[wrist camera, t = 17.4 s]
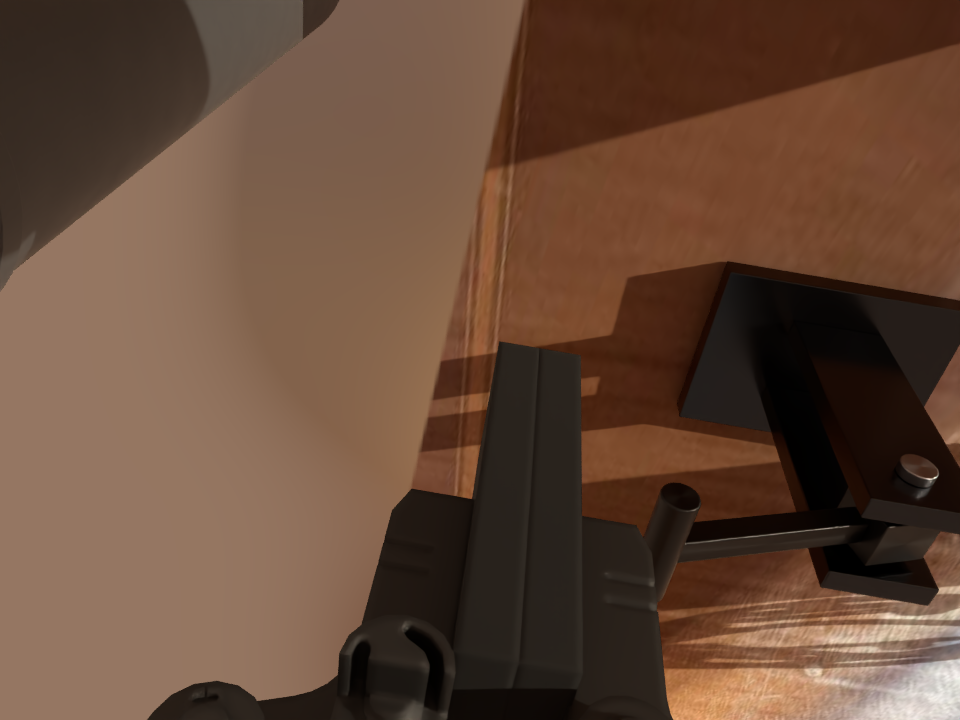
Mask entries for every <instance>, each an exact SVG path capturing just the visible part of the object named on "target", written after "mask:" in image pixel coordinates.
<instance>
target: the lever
mask: <svg viewBox="0 0 960 720" xmlns="http://www.w3.org/2000/svg"><path fill="white" fill-rule="evenodd" d="M700 506H701V500H700V497H699V495H698V494H697V492H696V491H695V490H693V489H692V488H691V487H689V486H687V485H684V484H681V483H668V484H666V485H664V486H663V487H662V488H661V490H660V493H659V496H658V499H657V501H656V504H655V507H654V510H653V512H652V515H651V518H650V520H649V523H648V526H647V529H646V531H645V534H644V537H643V538H644V540H645V542H646V543H647V545H648V547H649V549H650V550H651V552H652V558H653V568H654V578H655V583H654V587H655V588H656V597H657V602H659V601H660V600H661V599H662V598H663V596H664V594H665V591H666V589H667V587H668V584H669V582H670V579H671V577H672V574H673V572H674V569H675V567H676V565H677V563H683V562H691V561H700V560H709V559H718V558H726V557H735V556H744V555H753V554H762V553H770V552H779V551H788V550H797V549H805V548H814V547H823V546H832V545H841V544H848V545H849V546H850V548H851V549H852V550H853V551H854V553H855V554H856V555H857V556H858V558H859V559H860V560H861V562H862V563H863V564H864V565H865V566H868V565H876V564H884V563H892V562H900V561H908V560H916V559H922V558H923V557H924V555H925V553H926V552H927V550H928V549H929V547H930V546H931V544H932V543H933V541H934V540H935V538H936V537H937V535H938V534H939V532H940V531H937V530H931V529H925V528H920V527H914V526H908V525H902V524H896V523H890V522H885V521H879V520H873V519H867V518H862V517H860V514H859V512H858V509H857V507H856V504H855V502H854V500H853V497H852V495H851V492H850V490H849V487H848V489H847V491H846V493H845V495H844V496H843V498H842V500H841V502H840V504H839V505H838V507H837V508H833V509H823V510H813V511H803V512H793V513H783V514H773V515H763V516H752V517H742V518H732V519H722V520H712V521H702V522H694V521H695V518H696V516H697V513H698V511H699V508H700Z"/></svg>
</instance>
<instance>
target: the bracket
mask: <svg viewBox="0 0 960 720" xmlns="http://www.w3.org/2000/svg"><path fill="white" fill-rule="evenodd" d="M959 345H960V301H958V300H953V299H947V298H941V297H935V296H929V295H923V294H917V293H911V292H905V291H899V290H894V289H888V288H882V287H876V286H870V285H864V284H858V283H852V282H846V281H840V280H835V279H829V278H823V277H817V276H811V275H805V274H799V273H793V272H787V271H781V270H776V269H770V268H764V267H758V266H752V265H746V264H740V263H734V262H727V263H726V266H725V269H724V272H723V274H722V277H721V280H720V283H719V286H718V289H717V292H716V294H715V297H714V300H713V303H712V306H711V309H710V312H709V314H708V317H707V320H706V323H705V326H704V329H703V331H702V334H701V337H700V340H699V343H698V346H697V349H696V351H695V354H694V357H693V360H692V363H691V366H690V369H689V371H688V374H687V377H686V380H685V383H684V386H683V388H682V391H681V394H680V397H679V400H678V403H677V405H678V411H679V416H680V417H685V418H691V419H697V420H702V421H708V422H714V423H720V424H726V425H732V426H737V427H743V428H749V429H755V430H761V431H767V432H771V433H772V436H773V439H774V442H775V446H776V449H777V452H778V455H779V458H780V461H781V464H782V468H783V471H784V474H785V477H786V480H787V483H788V486H789V490H790V493H791V496H792V499H793V502H794V505H795V509H796V512H803V511H813V510H823V509H833V508H837V507H838V505H839V504H840V502H841V500H842V498H843V496H844V495H845V493H846V491H847V489H848V487H849V490H850V492H851V495H852V497H853V500H854V502H855V504H856V507H857V509H858V512H859V514H860V517H862V518H867V519H873V520H879V521H885V522H890V523H896V524H902V525H908V526H914V527H920V528H925V529H931V530H937V531H943V532H949V533H955V534H960V467H959V466H958V464H957V462H956V461H955V459H954V457H953V456H952V454H951V452H950V451H949V449H948V447H947V445H946V444H945V442H944V440H943V439H942V437H941V435H940V434H939V432H938V430H937V429H936V427H935V425H934V423H933V422H932V420H931V418H930V417H929V415H928V413H927V412H926V410H925V408H924V406H925V404H926V402H927V401H928V399H929V397H930V395H931V394H932V392H933V390H934V388H935V387H936V385H937V383H938V381H939V380H940V378H941V376H942V374H943V373H944V371H945V369H946V367H947V366H948V364H949V362H950V361H951V359H952V357H953V355H954V354H955V352H956V350H957V348H958V347H959ZM808 550H809V553H810V556H811V559H812V562H813V565H814V568H815V572H816V575H817V578H818V581H819V584H820V587H822V588H827V589H833V590H838V591H844V592H850V593H856V594H862V595H868V596H873V597H879V598H885V599H891V600H897V601H902V602H908V603H914V604H920V605H926V606H928V605H929V604H930V603H931V601H932V600H933V598H934V597H935V596H936V594H937V593H938V591H939V589H938V587H937V585H936V583H935V581H934V578H933V576H932V574H931V572H930V570H929V568H928V566H927V563H926V561H925V559H924V557H923V558H922V559H916V560H908V561H900V562H892V563H884V564H876V565H868V566H865V565H864V564H863V563H862V562H861V560H860V559H859V558H858V556H857V555H856V554H855V553H854V551H853V550H852V549H851V548H850V546H849V545H848V544H841V545H832V546H823V547H814V548H808Z"/></svg>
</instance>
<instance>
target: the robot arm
mask: <svg viewBox="0 0 960 720" xmlns="http://www.w3.org/2000/svg"><path fill="white" fill-rule="evenodd" d="M654 583H655V578H654V568H653V558H652V552H651V550H650V549H649V547H648V545H647V543H646V542H645V540H644V538H643V536H642V535H641V533H640V531H639V529H638V528H637V526H636V525H631V524H625V523H620V522H614V521H608V520H602V519H596V518H591V517H585V516H582V466H581V355H576V354H570V353H564V352H558V351H552V350H547V349H541V348H535V347H529V346H523V345H517V344H511V343H506V342H500V341H499V346H498V352H497V357H496V363H495V369H494V374H493V380H492V385H491V391H490V396H489V402H488V407H487V413H486V419H485V424H484V430H483V435H482V441H481V446H480V452H479V458H478V464H477V471H476V477H475V484H474V490H473V497H472V499H468V498H463V497H457V496H451V495H445V494H439V493H433V492H428V491H422V490H416V489H411V490H410V491H409V492H408V493H407V494H406V496H405V497H404V498H403V499H402V500H401V501H400V502H399V503H398V504H397V505H396V507H395V508H394V509H393V510H392V513H391V517H390V520H389V524H388V528H387V531H386V535H385V540H384V543H383V547H382V550H381V554H380V558H379V563H378V566H377V569H376V572H375V576H374V580H373V584H372V587H371V591H370V595H369V599H368V602H367V606H366V610H365V613H364V618H363V621H362V625H361V626H360V627H358V628H357V629H356V630H355V631H354V632H352V633H351V634H350V635H349V636H348V638H347V640H346V642H345V644H344V645H343V647H342V649H341V651H340V653H339V667H338V675H337V676H336V677H335V678H334V679H332V680H331V681H330V682H329V683H328V684H325V685H324V686H321V687H320V688H318V689H315V690H313V691H311V692H307V693H304V694H299V695H296V696H289V697H283V698H276V699H269V700H262V701H256V699H255V697H254V696H252V695H251V694H249V693H248V692H247V691H245V690H244V689H242V688H241V687H240V686H238V685H233V684H228V683H224V682H219V681H213V682H206V683H199V684H193V685H191V686H189V687H187V688H185V689H183V690H181V691H178V692H177V693H174V694H172V695H171V696H170V697H169V698H168V699H167V700H165V702H163V703H162V704H161V705H160V706H159V707H158V708H157V709H156V710H155V711H154V712H153V713H152V714H151V716H150V717H149V718H148V720H673V718H672V716H671V714H670V710H669V706H668V702H667V695H666V685H665V676H664V666H663V656H662V646H661V637H660V627H659V617H658V612H657V597H656V588H655V587H654Z"/></svg>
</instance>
